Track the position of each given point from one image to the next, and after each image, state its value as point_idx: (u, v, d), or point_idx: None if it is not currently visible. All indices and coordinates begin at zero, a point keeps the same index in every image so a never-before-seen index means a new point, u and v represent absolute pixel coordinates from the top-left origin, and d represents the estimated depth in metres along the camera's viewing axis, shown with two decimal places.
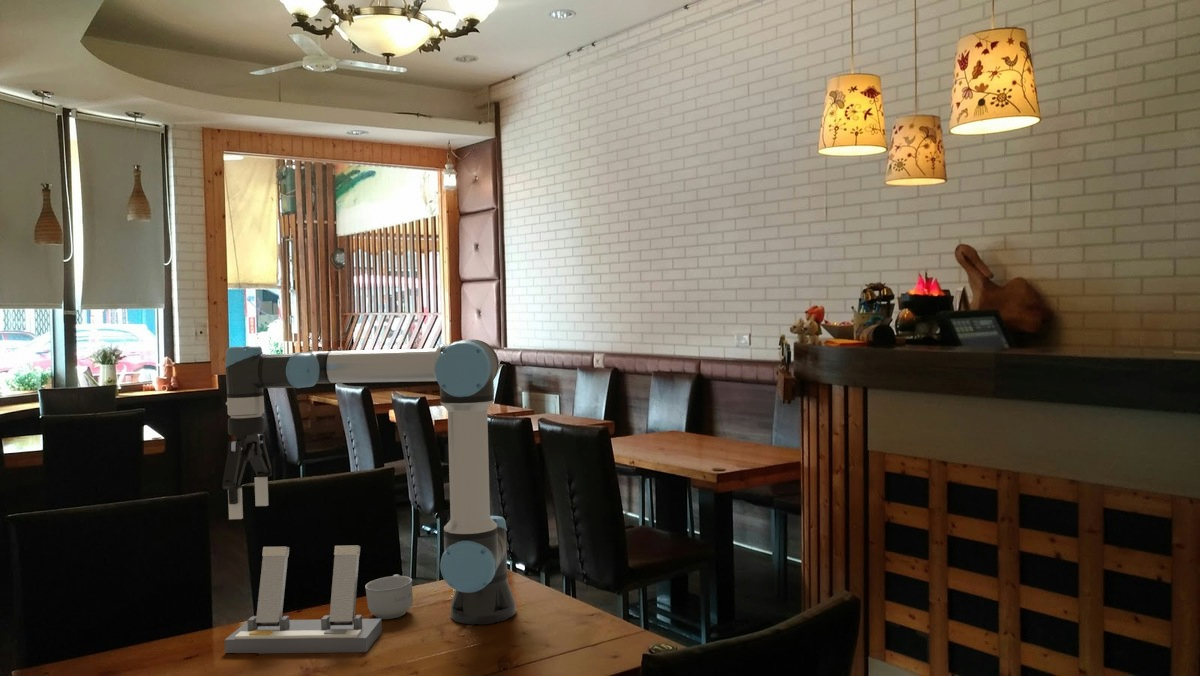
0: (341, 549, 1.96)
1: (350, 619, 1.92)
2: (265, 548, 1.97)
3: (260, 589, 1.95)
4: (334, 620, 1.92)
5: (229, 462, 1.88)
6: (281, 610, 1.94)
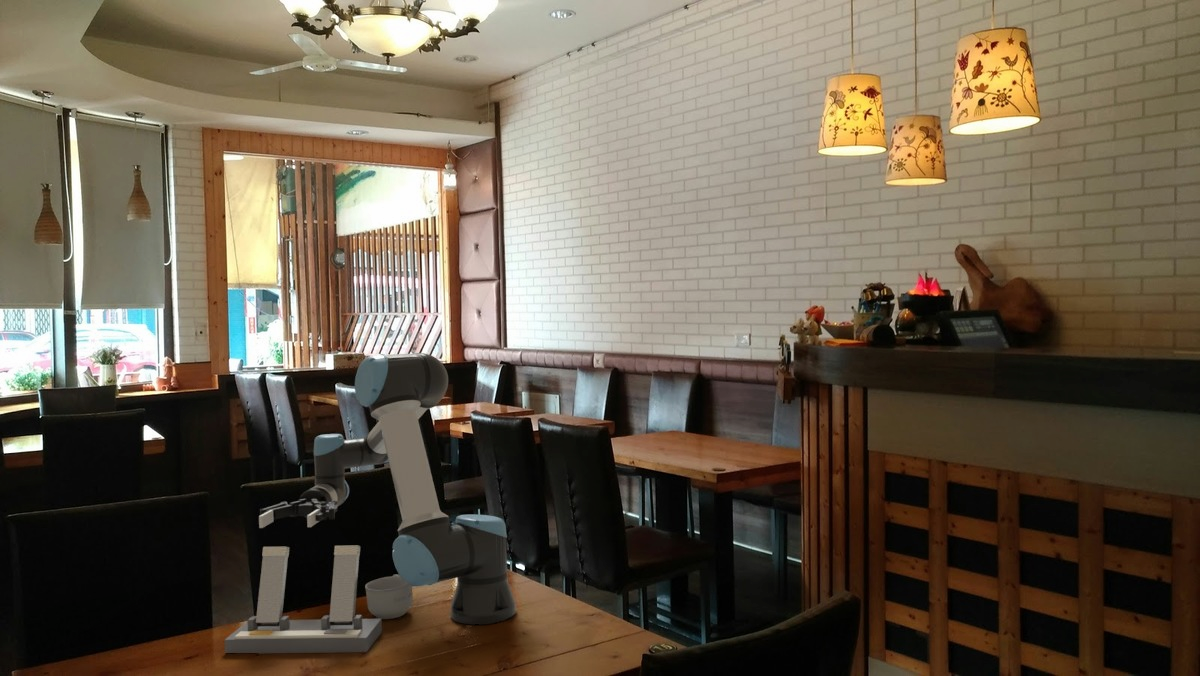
0: (341, 549, 1.96)
1: (350, 619, 1.92)
2: (265, 548, 1.97)
3: (260, 589, 1.95)
4: (334, 620, 1.92)
5: None
6: (281, 610, 1.94)
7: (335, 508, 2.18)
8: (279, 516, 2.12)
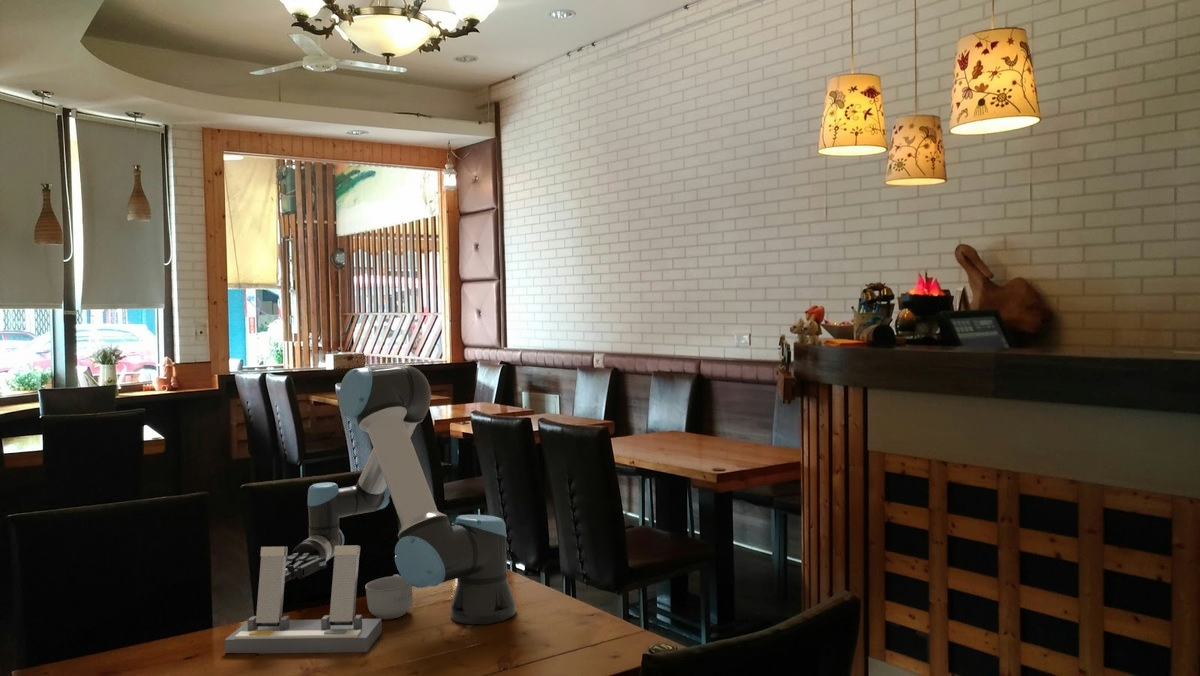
0: (341, 549, 1.96)
1: (350, 619, 1.92)
2: (263, 548, 1.96)
3: (259, 589, 1.94)
4: (334, 620, 1.92)
5: None
6: (281, 610, 1.94)
7: (321, 565, 2.11)
8: None
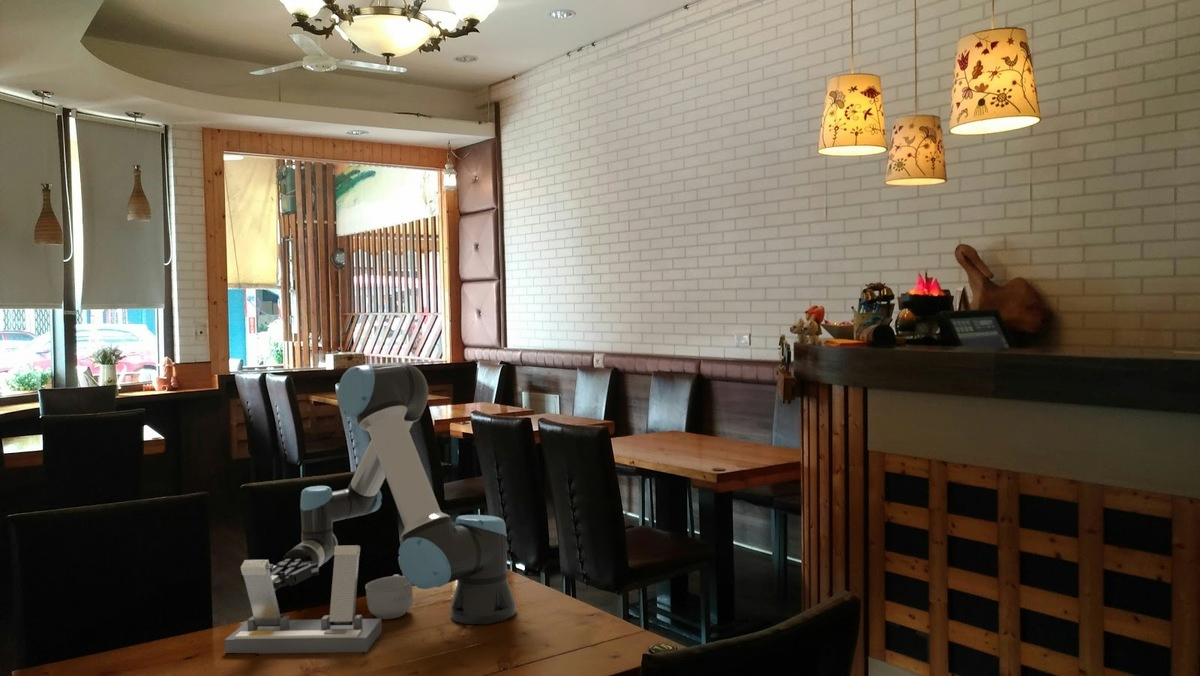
0: (341, 549, 1.96)
1: (350, 619, 1.92)
2: (243, 568, 1.86)
3: (250, 600, 1.90)
4: (334, 620, 1.92)
5: None
6: (278, 613, 1.92)
7: (313, 571, 2.06)
8: None
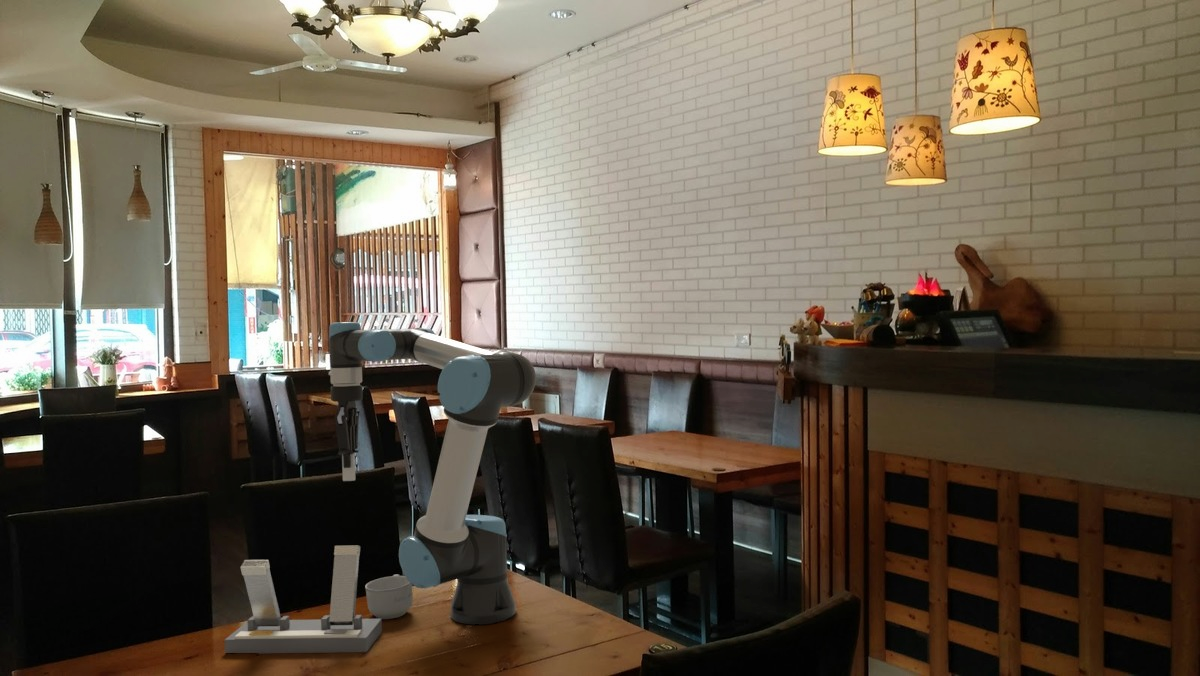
0: (341, 549, 1.96)
1: (350, 619, 1.92)
2: (243, 568, 1.85)
3: (250, 600, 1.90)
4: (334, 620, 1.92)
5: (339, 433, 2.14)
6: (278, 613, 1.92)
7: None
8: None
